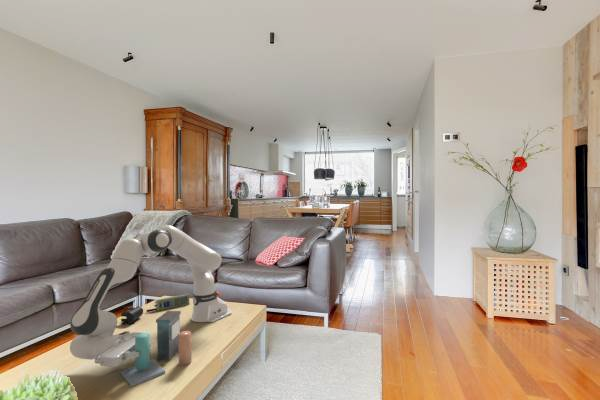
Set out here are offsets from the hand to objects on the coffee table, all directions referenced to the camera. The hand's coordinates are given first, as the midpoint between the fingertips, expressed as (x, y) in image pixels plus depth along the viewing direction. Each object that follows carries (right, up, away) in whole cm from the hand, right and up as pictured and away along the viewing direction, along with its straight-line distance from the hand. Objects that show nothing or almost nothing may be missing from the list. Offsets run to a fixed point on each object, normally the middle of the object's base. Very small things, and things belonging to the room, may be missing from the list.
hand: (144, 349), depth 120 cm
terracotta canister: (+13, -9, +8) cm, 18 cm away
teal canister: (-1, -7, 0) cm, 7 cm away
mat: (-1, -9, 0) cm, 9 cm away
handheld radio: (-21, -9, +71) cm, 75 cm away
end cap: (-33, -9, +52) cm, 62 cm away
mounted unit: (+3, -9, +14) cm, 17 cm away
